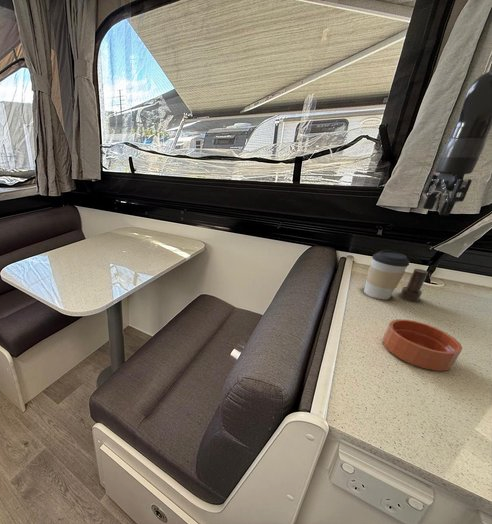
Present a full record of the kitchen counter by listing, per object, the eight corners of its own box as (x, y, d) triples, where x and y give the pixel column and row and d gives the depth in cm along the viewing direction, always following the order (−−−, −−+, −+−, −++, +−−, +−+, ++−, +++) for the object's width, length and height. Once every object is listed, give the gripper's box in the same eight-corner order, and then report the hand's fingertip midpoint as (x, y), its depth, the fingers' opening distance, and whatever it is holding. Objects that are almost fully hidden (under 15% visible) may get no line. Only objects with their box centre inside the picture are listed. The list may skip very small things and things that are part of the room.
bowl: (431, 342, 69) (441, 325, 67) (464, 378, 59) (477, 359, 56) (373, 332, 73) (380, 315, 71) (394, 364, 63) (403, 346, 60)
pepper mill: (413, 295, 90) (426, 268, 86) (421, 302, 86) (434, 275, 82) (396, 293, 91) (408, 266, 87) (403, 300, 88) (415, 272, 83)
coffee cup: (399, 303, 86) (418, 260, 80) (366, 298, 89) (382, 257, 83) (386, 289, 94) (403, 249, 88) (356, 285, 96) (370, 247, 90)
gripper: (497, 156, 69) (467, 218, 76) (460, 154, 81) (436, 207, 88) (459, 156, 71) (432, 216, 78) (428, 154, 84) (408, 206, 90)
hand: (435, 211), depth 83 cm, fingers open, 8 cm apart
